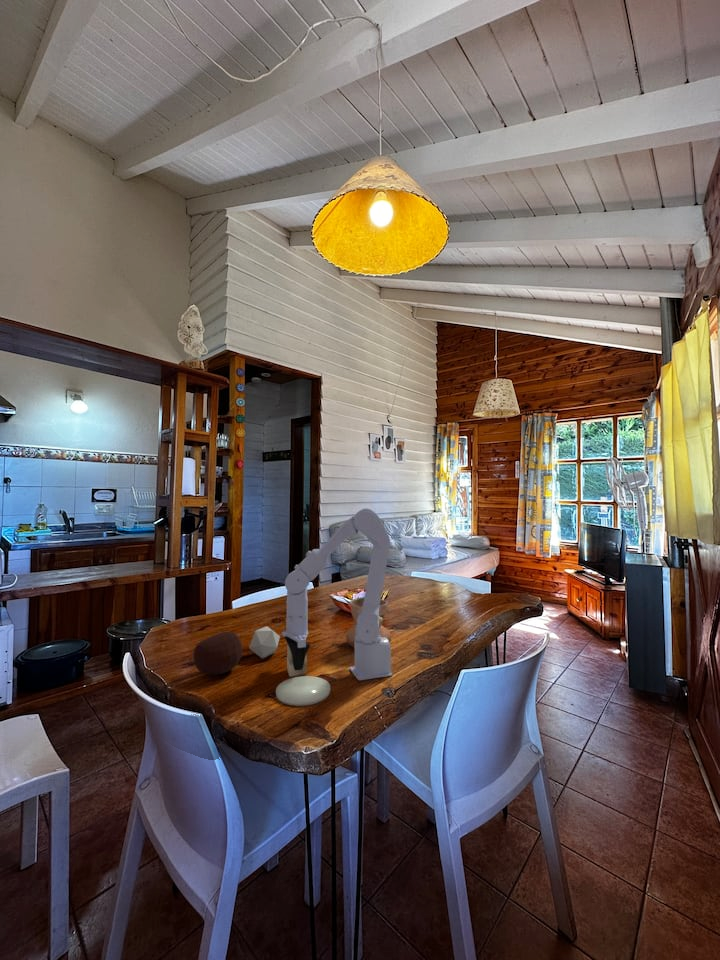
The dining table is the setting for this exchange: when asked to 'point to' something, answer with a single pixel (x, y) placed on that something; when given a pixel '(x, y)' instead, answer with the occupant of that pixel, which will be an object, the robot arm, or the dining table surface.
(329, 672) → the dining table surface
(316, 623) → the dining table surface
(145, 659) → the dining table surface
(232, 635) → the potato
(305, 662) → the block
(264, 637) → the die
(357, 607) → the ceramic jug
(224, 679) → the dining table surface
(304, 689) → the plate
